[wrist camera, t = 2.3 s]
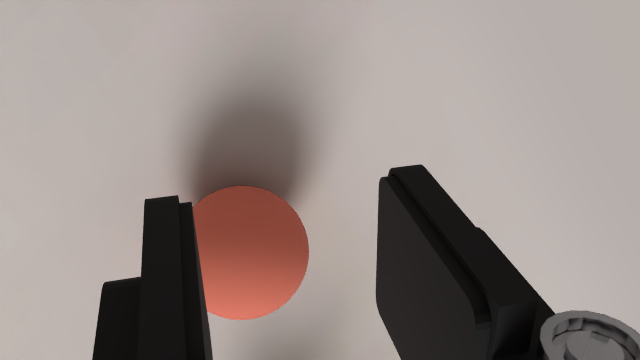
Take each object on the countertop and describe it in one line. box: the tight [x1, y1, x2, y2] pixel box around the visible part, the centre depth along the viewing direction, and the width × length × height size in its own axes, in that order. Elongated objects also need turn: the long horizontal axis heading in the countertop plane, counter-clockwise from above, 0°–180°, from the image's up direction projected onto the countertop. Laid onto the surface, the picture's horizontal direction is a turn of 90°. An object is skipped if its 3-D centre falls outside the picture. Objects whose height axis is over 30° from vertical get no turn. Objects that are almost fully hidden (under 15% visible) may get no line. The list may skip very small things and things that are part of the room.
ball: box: [193, 186, 309, 320], centre depth 27 cm, size 6×6×6 cm
